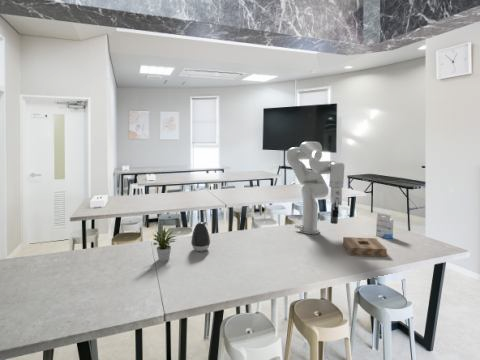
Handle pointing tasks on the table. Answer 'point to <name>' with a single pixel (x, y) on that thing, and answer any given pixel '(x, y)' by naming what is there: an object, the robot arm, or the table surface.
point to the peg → (333, 219)
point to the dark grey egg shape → (200, 237)
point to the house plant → (163, 245)
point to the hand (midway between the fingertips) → (334, 215)
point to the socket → (364, 246)
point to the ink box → (384, 226)
